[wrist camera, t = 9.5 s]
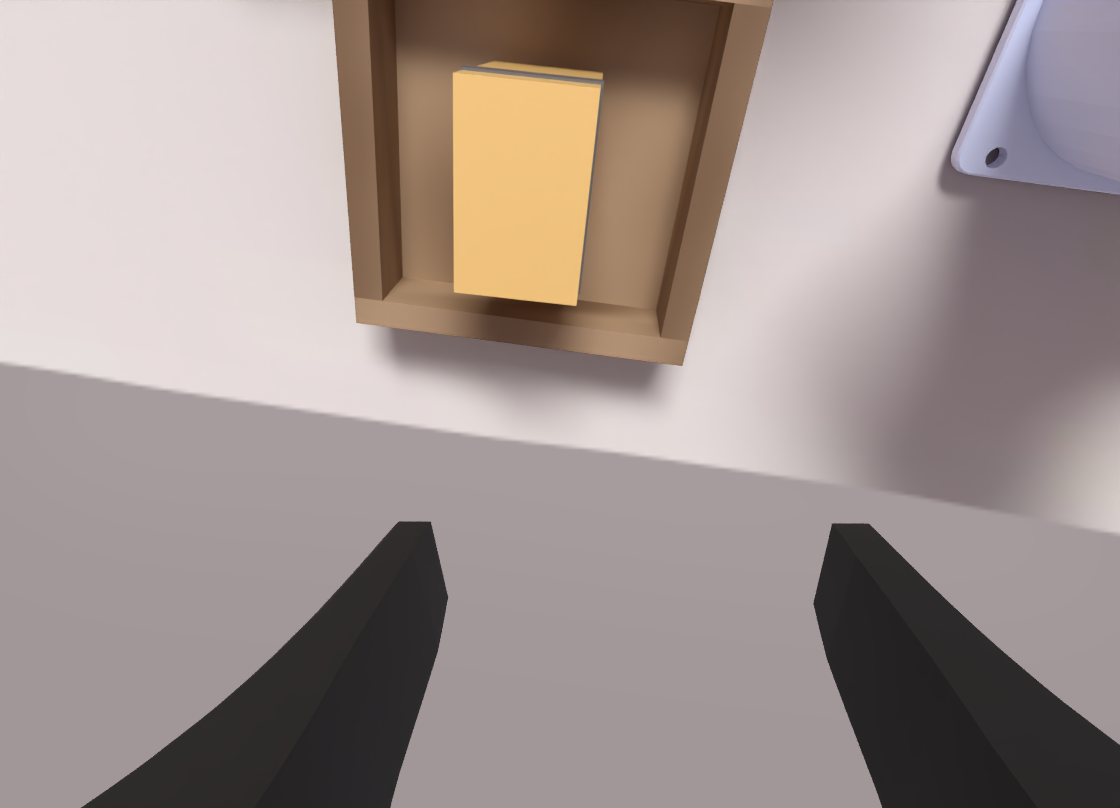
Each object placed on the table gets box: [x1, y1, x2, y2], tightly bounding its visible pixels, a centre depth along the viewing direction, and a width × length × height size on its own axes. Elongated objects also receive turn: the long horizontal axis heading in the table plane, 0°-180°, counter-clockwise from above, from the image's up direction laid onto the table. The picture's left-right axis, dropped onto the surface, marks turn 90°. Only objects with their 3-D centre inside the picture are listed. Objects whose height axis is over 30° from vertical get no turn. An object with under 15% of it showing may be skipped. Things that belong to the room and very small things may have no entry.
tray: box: [332, 0, 774, 366], centre depth 16 cm, size 10×10×3 cm
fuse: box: [453, 61, 604, 306], centre depth 15 cm, size 3×4×5 cm, turn 175°
